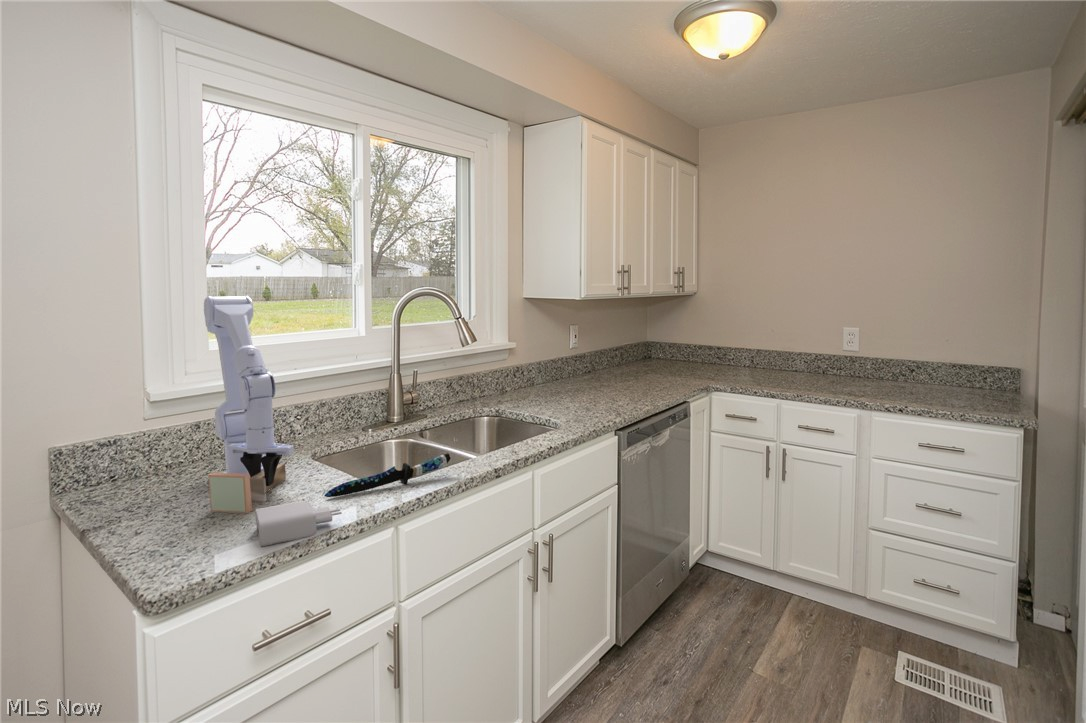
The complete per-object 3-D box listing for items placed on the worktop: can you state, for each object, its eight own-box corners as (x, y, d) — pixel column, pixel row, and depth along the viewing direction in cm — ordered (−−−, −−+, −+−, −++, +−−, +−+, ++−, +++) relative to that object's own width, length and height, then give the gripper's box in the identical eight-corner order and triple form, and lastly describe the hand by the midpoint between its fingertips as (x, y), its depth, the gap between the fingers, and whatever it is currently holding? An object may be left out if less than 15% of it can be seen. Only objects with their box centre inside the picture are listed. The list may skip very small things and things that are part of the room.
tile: (216, 508, 123) (213, 472, 122) (251, 510, 123) (249, 473, 121) (210, 511, 122) (207, 475, 120) (246, 513, 121) (244, 476, 120)
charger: (346, 531, 113) (261, 549, 105) (336, 515, 121) (256, 530, 113) (345, 508, 112) (259, 524, 105) (335, 493, 120) (254, 507, 113)
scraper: (265, 478, 142) (264, 458, 141) (297, 479, 141) (295, 460, 140) (230, 500, 128) (228, 478, 127) (264, 501, 127) (263, 479, 127)
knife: (450, 468, 146) (448, 451, 146) (454, 471, 144) (452, 454, 143) (323, 503, 131) (320, 484, 131) (326, 507, 129) (323, 488, 128)
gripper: (218, 430, 129) (222, 489, 130) (280, 432, 127) (284, 491, 129) (237, 422, 136) (241, 478, 137) (297, 424, 134) (300, 480, 136)
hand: (263, 484), depth 134 cm, fingers closed on scraper, 2 cm apart
